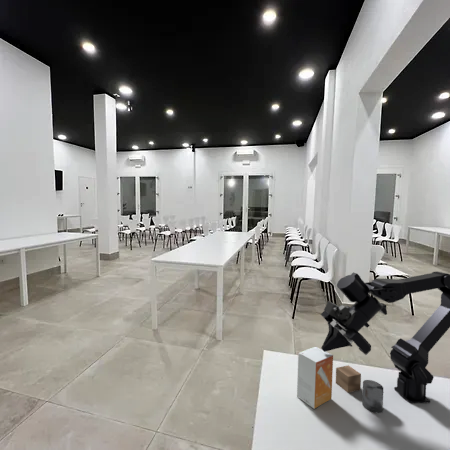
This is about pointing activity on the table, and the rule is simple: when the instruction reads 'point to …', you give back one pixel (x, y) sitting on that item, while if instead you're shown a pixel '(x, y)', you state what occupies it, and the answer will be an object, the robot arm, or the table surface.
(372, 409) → the charcoal metal cylinder
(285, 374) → the table surface
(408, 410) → the table surface
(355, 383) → the walnut block
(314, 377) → the small box
